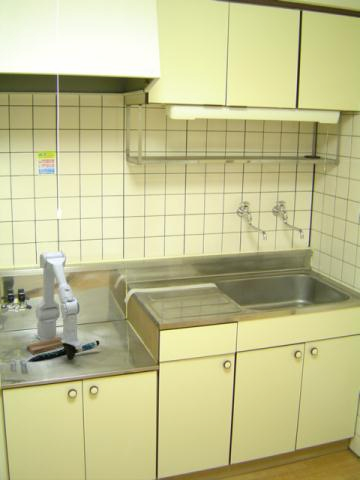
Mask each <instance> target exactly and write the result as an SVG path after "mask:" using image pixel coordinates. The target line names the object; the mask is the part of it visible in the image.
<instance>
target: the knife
mask: <svg viewBox="0 0 360 480" xmlns="http://www.w3.org/2000/svg"><path fill="white" fill-rule="evenodd" d="M100 344H101V343H100V340H94V341H92V342H88V343H86V344H83V345H81V349H76V352H75V355H76V354H79V353H82V352H86V351H90V350H92V349H94V350H95V349H96V348H98V346H99V345H100ZM65 356H67V355H66V351H65V349H64V348H60V349H59V350H54V351H51V352H50V351H49V352H43V353H39V354H36V355H35V356H33V357H31V358H30V359H28V362H30V363H31V362H33V363H34V362H41V361H47V360H52V359H58V358H60V357H61V358H62V357H65Z"/></svg>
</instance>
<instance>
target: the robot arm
mask: <svg viewBox="0 0 360 480" xmlns="http://www.w3.org/2000/svg"><path fill="white" fill-rule="evenodd" d="M39 255H40V256H39V267H40V268H41V269H42V270H43V274H42V275H43V277H42V278H43V279H42V280H43V282H42V283H43V285H42V291H43V292H42V300H40V301H39V302H38V303H37V304H36V309H35V317H36V320H37V323H36V329H37V334H35V337H36V338H37V339H39V340H40V341H45V340H49V339H53V338H57V337H60V338H62V339H63V340H61V342H62V345H63V347H62V348H63V349H65V351H66V355H65V356H66V358H67V360H68V361H72V360H74V358H75V355H76V354H75V352H76V349H81V346H82V344H81V342H80V341H79V338H78V314H80V310H81V308H80V304H79V301H78V300H77V298H76V297H75V295H74V293H73V289H72V286H71V285H69V284H68V282H67V277H66V273H65V266H66V261H67V257H66V254H65V251H63V250H60V251H51V252H50V251H49V252H42V253H41V254H39ZM55 280H56V283H57V286H58V288H57V295H58V297H59V301H60V303H59V302H58V301H57V300H55ZM60 304H61V305H60ZM60 316H61V318H62V326H63V327H62V331H63V332H62V333H59V335H57V321H58V319H59V318H60Z"/></svg>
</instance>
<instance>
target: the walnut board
mask: <svg viewBox="0 0 360 480" xmlns="http://www.w3.org/2000/svg"><path fill="white" fill-rule="evenodd" d="M61 340H63V339H62V338H60V336H58V337H57V338H53V339H49V340H45V341H41V340H40V341H37V342H33V343H29V344H26V350H27V351H28V352H29V353H30V354H32V355H33V356H34V355H35V356H36V355H40V354H43V353H47V352H50V351H52V350H54V351H55V350H56V349H57V348H58V349H62V348H64V347H63V345H62V342H61Z"/></svg>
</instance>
